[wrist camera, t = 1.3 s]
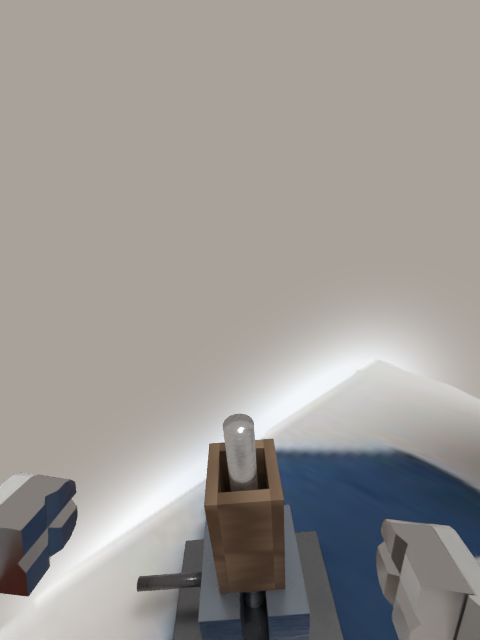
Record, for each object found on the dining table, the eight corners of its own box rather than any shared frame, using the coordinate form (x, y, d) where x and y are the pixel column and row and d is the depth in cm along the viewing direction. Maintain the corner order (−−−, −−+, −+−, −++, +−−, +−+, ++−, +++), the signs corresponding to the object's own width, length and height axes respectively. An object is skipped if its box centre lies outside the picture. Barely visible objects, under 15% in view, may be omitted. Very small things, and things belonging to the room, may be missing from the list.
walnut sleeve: (276, 521, 27) (273, 438, 23) (285, 588, 22) (283, 499, 18) (221, 525, 27) (209, 443, 23) (219, 594, 22) (204, 505, 18)
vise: (315, 542, 32) (323, 373, 24) (349, 680, 23) (381, 486, 15) (161, 554, 32) (113, 389, 24) (133, 697, 23) (39, 512, 15)
